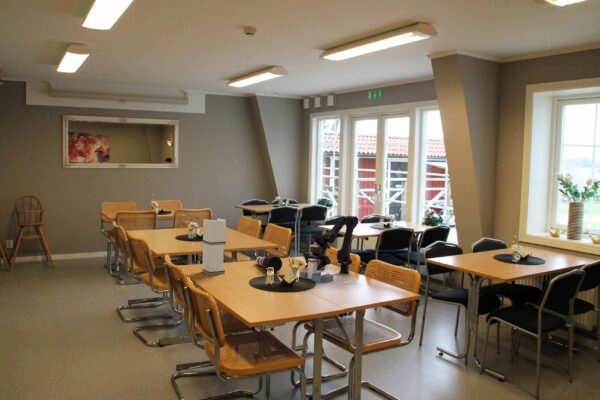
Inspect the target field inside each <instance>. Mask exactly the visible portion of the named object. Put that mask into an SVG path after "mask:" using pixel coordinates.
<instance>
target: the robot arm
mask: <svg viewBox="0 0 600 400" xmlns="http://www.w3.org/2000/svg"><path fill="white" fill-rule="evenodd" d="M358 223H359V218H358V216H355V215H347V216H339V218H338V220H337V221H336V223H335V224H334V225H333V226H332V228H331V229H330V230H328V231H327V232H325V233H324V234H322V232H321V231H317V233H315V234H313V235H312V237H311V238H312V241H313V242H314V244H315V243H316V244H317V245H319V246H318V248H317V247H311V249H310V252H312V254H313V255H314V256H311V254H310V253H309V252H304V253H303V255H302V256H303V258H304V259H305V262H306V263H307V265H306V266H305V265H304V269H308V259H317V260H320V264H319V265H318V267H317V271H316V272H319V270H322V269H321V268H322V267H324V266H325V267H326V266H328V265H331V263H332V260H331V259H330V257H329V256H328V255H327V253H326V254H325V252H327V250H328V249H329V250H330V249H331V245H330V244H334V243H335V241H336V239H337V235H338V234H339V232H340V231H341V230H342V229H343V227H344V226H345V227H346V228H345V233H344V237H343V241H342V245H341V248H340V249H338V250H337V254H336V259H337V263H338V264H340V270H339V273H340V274H350V265H352V264H353V260H352V259H351V253H350V245H351V241H352V237H353V233H354V229H355V228H356V227H357V226H358ZM324 255H326V256H324Z"/></svg>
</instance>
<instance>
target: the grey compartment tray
mask: <svg viewBox="0 0 600 400" xmlns="http://www.w3.org/2000/svg"><path fill="white" fill-rule="evenodd" d="M307 277H308V269H306V270H303V271H300V272H299V278H302V279H306V280H310V281H313V282H318V283H326V284H327V283H330V282H332V281H334V274H331V273H325V274H324V273H323V274H322V271H316V273H313V274H312V279H310V278H307Z"/></svg>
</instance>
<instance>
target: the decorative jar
mask: <svg viewBox="0 0 600 400" xmlns="http://www.w3.org/2000/svg"><path fill="white" fill-rule="evenodd" d="M318 246H319V245H317V244H316V243H315V242H314V244H310V245H309V247H308V249H309V251H308V253H310V254H311V256H314V255H313V254H312V252H310V249H311V247H317V248H318ZM326 252H327V251H326ZM326 252H325V254H326V255H324V256H327V253H326ZM319 264H320V260H317V267H318V265H319ZM325 269H326V266H324V267H322V268H321V269H320V270H325Z"/></svg>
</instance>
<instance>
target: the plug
mask: <svg viewBox="0 0 600 400" xmlns="http://www.w3.org/2000/svg"><path fill="white" fill-rule="evenodd" d="M307 270H308V277H307V278H310V279H312V274H313V273H317V272H318V271H317V259H308V267H307ZM310 279H309V280H310Z"/></svg>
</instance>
